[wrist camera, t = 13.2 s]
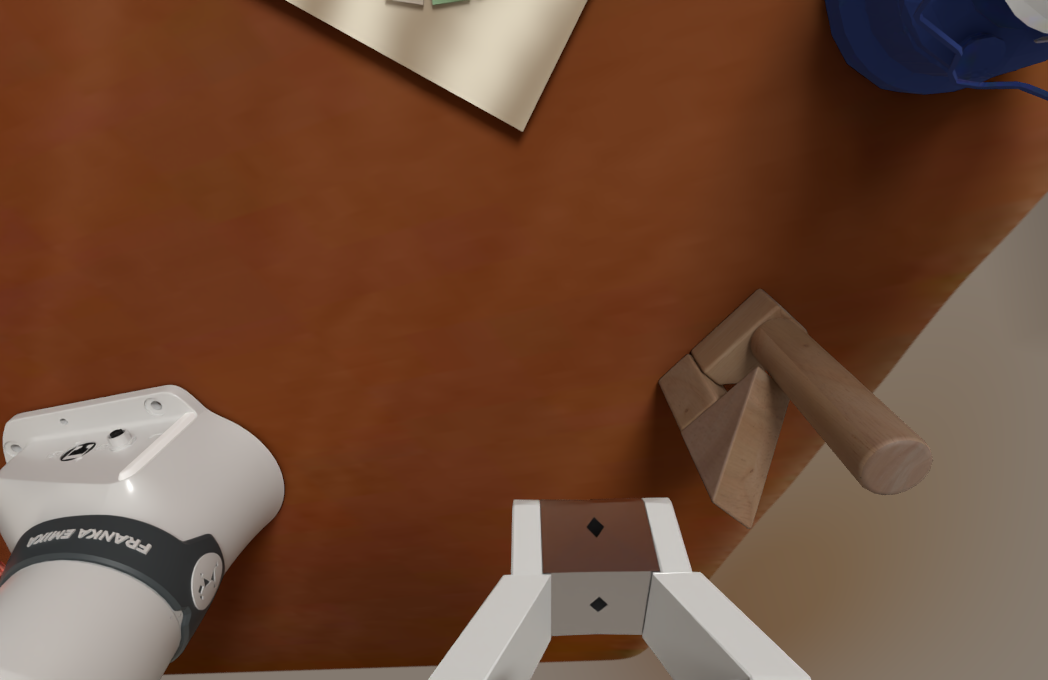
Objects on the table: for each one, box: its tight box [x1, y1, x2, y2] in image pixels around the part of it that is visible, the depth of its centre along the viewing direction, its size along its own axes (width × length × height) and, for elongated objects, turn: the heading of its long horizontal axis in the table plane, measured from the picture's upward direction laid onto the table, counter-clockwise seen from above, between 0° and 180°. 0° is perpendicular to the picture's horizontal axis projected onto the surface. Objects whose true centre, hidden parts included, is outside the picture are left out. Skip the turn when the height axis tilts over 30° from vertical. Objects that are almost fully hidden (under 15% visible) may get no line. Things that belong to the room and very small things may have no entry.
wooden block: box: [658, 289, 933, 529], centre depth 36 cm, size 4×11×18 cm, turn 140°
